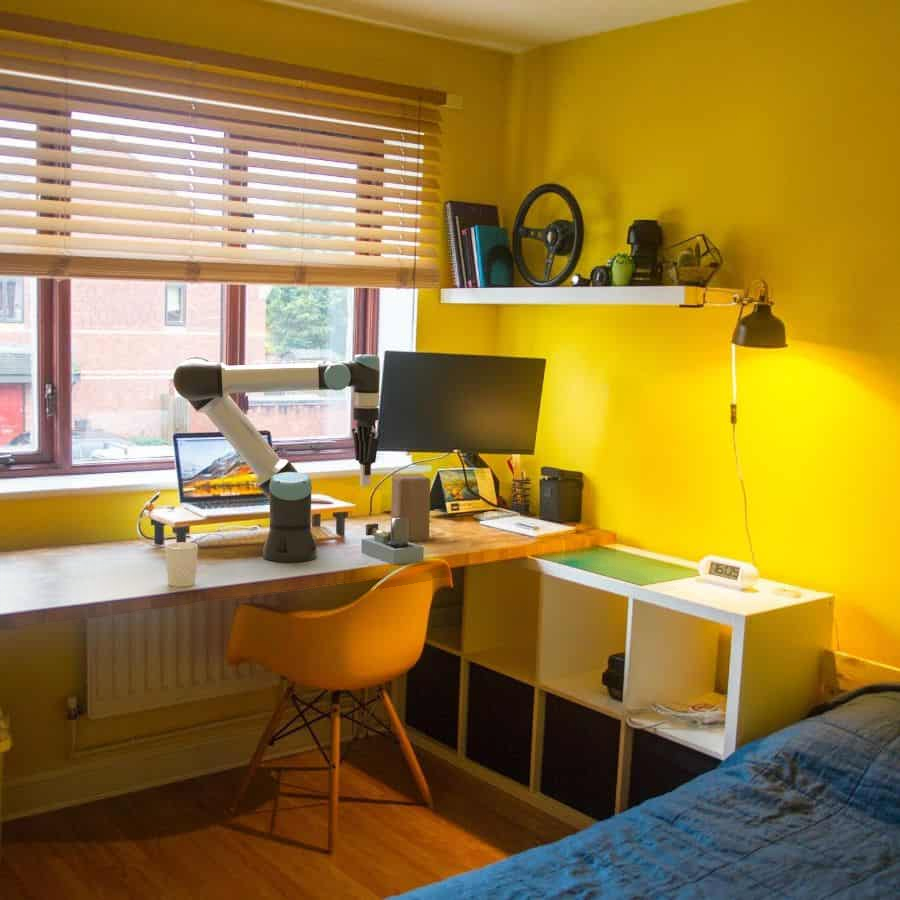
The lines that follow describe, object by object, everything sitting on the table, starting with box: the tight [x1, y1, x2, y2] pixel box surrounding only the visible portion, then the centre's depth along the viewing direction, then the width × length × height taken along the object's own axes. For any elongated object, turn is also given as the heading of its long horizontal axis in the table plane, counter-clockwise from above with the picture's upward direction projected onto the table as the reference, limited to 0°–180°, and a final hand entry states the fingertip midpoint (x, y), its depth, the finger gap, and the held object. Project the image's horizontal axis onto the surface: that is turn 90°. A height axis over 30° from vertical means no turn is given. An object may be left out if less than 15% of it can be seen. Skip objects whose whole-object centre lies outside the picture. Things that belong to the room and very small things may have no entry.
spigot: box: [390, 516, 409, 549], centre depth 312 cm, size 5×5×12 cm
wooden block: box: [390, 473, 431, 543], centre depth 340 cm, size 10×10×20 cm
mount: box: [360, 531, 425, 565], centre depth 316 cm, size 10×18×6 cm, turn 34°
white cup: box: [165, 541, 198, 588], centre depth 277 cm, size 8×8×10 cm
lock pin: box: [365, 522, 390, 540], centre depth 322 cm, size 4×9×3 cm, turn 34°
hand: (365, 485), depth 327 cm, fingers closed
